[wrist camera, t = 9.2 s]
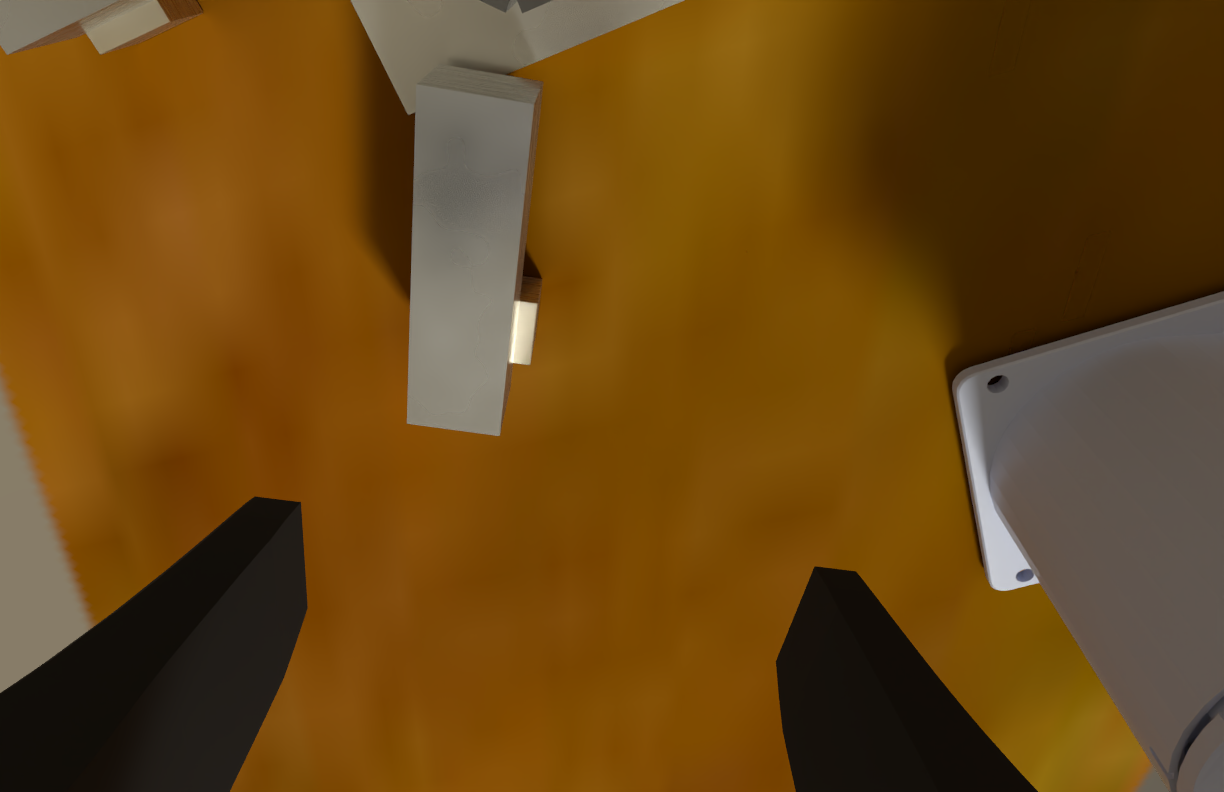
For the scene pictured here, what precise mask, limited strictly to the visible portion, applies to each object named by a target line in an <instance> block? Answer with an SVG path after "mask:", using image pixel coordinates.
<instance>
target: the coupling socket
mask: <svg viewBox="0 0 1224 792" xmlns="http://www.w3.org/2000/svg"><path fill="white" fill-rule="evenodd" d="M681 1H684V0H351V2H352V4H353V6H354V8H355V10H356V12H357V14H358V16H359V18H360V20H361V22H362V24H363V26H364V28H365V30H366V32H367V34H368V36H369V38H370V40H371V42H372V44H373V46H374V48H375V50H376V52H377V54H378V56H379V58H380V60H381V62H382V64H383V66H384V68H385V70H386V72H387V74H388V76H389V78H390V80H391V82H392V84H393V86H394V88H395V90H396V92H397V94H398V96H399V98H400V100H401V102H402V104H403V106H404V108H405V110H406V112H407V114H408V115H410V114H412V113H414V112H415V146H414V183H413V220H412V257H411V294H410V330H409V367H408V404H407V424H414V425H422V426H429V427H437V428H444V429H452V430H459V431H467V432H474V433H482V434H489V435H496V436H500V432H501V428H502V423H503V419H504V414H505V409H506V405H507V400H508V396H509V391H510V386H511V377H512V367H513V363H519V364H526V365H530V362H531V357H532V352H533V346H534V341H535V335H536V327H537V319H538V311H539V302H540V294H541V286H542V278H535V277H528V276H522V275H523V266H524V256H525V247H526V238H527V229H528V219H529V210H530V201H531V192H532V182H533V173H534V164H535V155H536V145H537V136H538V127H539V118H540V109H541V99H542V90H543V82H542V81H537V80H531V79H525V78H519V77H513V76H507V75H506V74H508V73H511V72H513V71H515V70H518V69H520V68H523V67H525V66H527V65H530V64H532V63H535V62H537V61H539V60H542V59H544V58H547V57H549V56H551V55H554V54H556V53H559V52H561V51H563V50H566V49H568V48H571V47H573V46H575V45H578V44H580V43H583V42H585V41H588V40H590V39H592V38H595V37H597V36H600V35H602V34H604V33H607V32H609V31H612V30H614V29H616V28H619V27H621V26H624V25H626V24H628V23H631V22H633V21H636V20H638V19H640V18H643V17H645V16H648V15H650V14H652V13H655V12H657V11H660V10H662V9H664V8H667V7H669V6H672V5H674V4H676V3H679V2H681ZM202 13H203V11H202V9H201V7H200V6H199V4H198V2H197V1H196V0H0V45H1V47H2V48H3V49H4V51H5V52H6V54H7V55H8V54H12V53H16V52H20V51H24V50H28V49H32V48H36V47H40V46H44V45H48V44H52V43H56V42H60V41H64V40H68V39H72V38H76V37H79V36H81V35H83V34H85V33H86V34H87V35H88V37H89V38H90V40H91V41H92V43H93V44H94V46H95V47H96V49H97V50H98V52H99V53H100V55H101V54H104V53H108V52H111V51H114V50H118V49H121V48H125V47H128V46H131V45H135V44H138V43H140V42H143V41H145V40H147V39H149V38H151V37H153V36H155V35H157V34H160V33H162V32H164V31H166V30H168V29H170V28H172V27H174V26H177V25H179V24H181V23H183V22H185V21H187V20H189V19H191V18H193V17H196V16H198V15H200V14H202Z"/></svg>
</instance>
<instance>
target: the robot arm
mask: <svg viewBox="0 0 1224 792" xmlns="http://www.w3.org/2000/svg"><path fill="white" fill-rule="evenodd" d="M998 375H1002V378H1001V379H1000V380H999V381H998V382H997V383H995V384H993V385H987V384H988V382H989V381H990V379H991V378H993V377H995V376H998ZM952 391H953V397H954V402H955V408H956V414H957V419H958V425H959V430H960V436H961V442H962V447H963V453H964V458H965V464H966V470H967V475H968V481H969V486H970V492H971V497H972V503H973V509H974V514H975V520H976V525H977V531H978V537H979V542H980V548H981V553H982V559H983V565H984V570H985V576H986V578H987V579H988V581H989V583H990V585H991V587H993V588H994V589H996V590H1001V591H1005V590H1011V589H1016V588H1020V587H1024V586H1028V585H1032V584H1036V583H1040V584H1041V586H1042V587H1043V589H1044V590H1045V592H1046V594H1047V595H1048V597H1049V599H1050V600H1051V602H1052V603H1053V605H1054V607H1055V608H1056V610H1057V611H1058V613H1059V615H1060V616H1061V618H1062V619H1063V621H1064V623H1065V624H1066V626H1067V628H1068V629H1069V631H1070V632H1071V634H1072V636H1073V637H1074V639H1075V640H1076V642H1077V644H1078V645H1079V647H1080V648H1081V650H1082V652H1083V653H1084V655H1085V657H1086V658H1087V660H1088V661H1089V663H1090V665H1091V666H1092V668H1093V669H1094V671H1095V673H1096V674H1097V676H1098V678H1099V679H1100V681H1101V682H1102V684H1103V686H1104V687H1105V689H1106V690H1107V692H1108V694H1109V695H1110V697H1111V698H1112V700H1113V702H1114V703H1115V705H1116V707H1117V708H1118V710H1119V711H1120V713H1121V715H1122V716H1123V718H1124V719H1125V721H1126V723H1127V724H1128V726H1129V727H1130V729H1131V731H1132V732H1133V734H1134V736H1135V737H1136V739H1137V740H1138V742H1139V744H1140V745H1141V747H1142V748H1143V750H1144V752H1145V753H1146V755H1147V757H1148V758H1149V760H1150V761H1151V763H1152V765H1153V766H1154V768H1155V769H1156V771H1157V773H1158V774H1159V776H1160V777H1161V779H1162V781H1163V782H1164V784H1165V785H1166V787H1167V789H1168V790H1169V792H1224V291H1223V292H1219V293H1216V294H1213V295H1209V296H1206V297H1203V298H1199V299H1196V300H1193V301H1189V302H1186V303H1183V304H1179V305H1176V306H1172V307H1169V308H1166V309H1162V310H1159V311H1156V312H1152V313H1149V314H1146V315H1142V316H1139V317H1136V318H1132V319H1129V320H1126V321H1122V322H1119V323H1116V324H1112V325H1109V326H1106V327H1102V328H1099V329H1096V330H1092V331H1089V332H1086V333H1082V334H1079V335H1076V336H1072V337H1069V338H1065V339H1062V340H1059V341H1055V342H1052V343H1049V344H1045V345H1042V346H1039V347H1035V348H1032V349H1029V350H1025V351H1022V352H1019V353H1015V354H1012V355H1009V356H1005V357H1002V358H999V359H995V360H992V361H989V362H985V363H982V364H979V365H975V366H972V367H969V368H967V369H965V370H962V371H961V372H960V373H959V374H958V375H957V376H956V377H955V379H954V381H953V384H952ZM1023 569H1025V570H1023ZM1021 570H1023V571H1021ZM1019 571H1021V572H1019ZM306 611H307V593H306V577H305V561H304V545H303V530H302V514H301V502H294V501H286V500H278V499H270V498H262V497H254V498H252V499H251V500H249V501H248V502H247V503H245V504H244V505H243V506H242V507H241V508H239V509H238V510H237V511H236V512H235V513H234V514H232V515H231V516H230V517H229V518H228V519H227V520H225V521H224V522H223V523H222V524H221V525H220V526H218V527H217V528H216V529H215V530H214V531H212V532H211V533H210V534H209V535H208V536H207V537H205V538H204V539H203V540H202V541H201V542H200V543H198V544H197V545H196V546H195V547H194V548H192V549H191V550H190V551H189V552H188V553H186V554H185V555H184V556H183V557H182V558H180V559H179V560H178V561H177V562H176V563H174V564H173V565H172V566H171V567H170V568H168V569H167V570H166V571H165V572H163V573H162V574H161V575H160V576H158V577H157V578H156V579H155V580H153V581H152V582H151V583H150V584H148V585H147V586H146V587H145V588H143V589H142V590H141V591H140V592H138V593H137V594H136V595H135V596H133V597H132V598H131V599H130V600H128V601H127V602H126V603H125V604H123V605H122V606H121V607H120V608H118V609H117V610H116V611H114V612H113V613H112V614H111V615H109V616H108V617H107V618H105V619H104V620H102V621H101V622H100V623H98V624H97V625H96V626H94V627H93V628H92V629H90V630H89V631H88V632H86V633H85V634H83V635H82V636H81V637H79V638H78V639H77V640H75V641H74V642H73V643H71V644H70V645H69V646H67V647H66V648H64V649H63V650H62V651H60V652H59V653H58V654H56V655H55V656H54V657H52V658H51V659H49V660H48V661H47V662H45V663H44V664H42V665H41V666H40V667H38V668H37V669H35V670H34V671H32V672H31V673H30V674H28V675H26V676H25V677H23V678H22V679H20V680H19V681H18V682H16V683H15V684H13V685H12V686H10V687H9V688H7V689H6V690H4V691H3V692H1V693H0V792H230V790H231V788H232V786H233V783H234V781H235V779H236V777H237V775H238V773H239V771H240V769H241V767H242V765H243V763H244V761H245V759H246V756H247V754H248V752H249V750H250V748H251V746H252V744H253V742H254V740H255V738H256V736H257V734H258V731H259V729H260V727H261V725H262V723H263V721H264V719H265V717H266V715H267V712H268V710H269V708H270V706H271V704H272V702H273V700H274V698H275V696H276V693H277V691H278V689H279V687H280V685H281V683H282V680H283V678H284V676H285V673H286V670H287V667H288V664H289V661H290V659H291V656H292V653H293V650H294V647H295V644H296V641H297V638H298V635H299V632H300V629H301V626H302V623H303V620H304V617H305V614H306ZM776 667H777V678H778V690H779V701H780V710H781V719H782V728H783V734H784V739H785V744H786V748H787V753H788V758H789V762H790V767H791V771H792V776H793V780H794V785H795V789H796V792H1038V791H1037V790H1036V789H1035V788H1034V787H1033V786H1032V785H1031V784H1030V783H1029V782H1028V781H1027V779H1026V778H1025V777H1024V776H1023V775H1022V774H1021V773H1020V772H1019V771H1018V770H1017V769H1016V767H1015V766H1014V765H1013V764H1012V763H1011V762H1010V761H1009V760H1008V758H1007V757H1006V756H1005V755H1004V754H1003V753H1002V752H1001V751H1000V749H999V748H998V747H997V746H996V745H995V744H994V743H993V742H992V741H991V739H990V738H989V737H988V736H987V735H986V734H985V733H984V732H983V730H982V729H981V728H980V727H979V726H978V725H977V723H976V722H975V721H974V720H973V719H972V717H971V716H970V715H969V714H968V713H967V712H966V710H965V709H964V708H963V707H962V706H961V704H960V703H959V702H958V701H957V700H956V698H955V697H954V696H953V695H952V694H951V692H950V691H949V690H948V689H947V687H946V686H945V685H944V684H943V682H942V681H941V680H940V679H939V677H938V676H937V675H936V674H935V673H934V671H933V670H932V669H931V667H930V666H929V665H928V664H927V662H926V661H925V660H924V659H923V657H922V656H921V655H920V654H919V652H918V651H917V650H916V648H915V647H914V646H913V645H912V643H911V642H910V641H909V639H908V638H907V637H906V635H905V634H904V633H903V632H902V630H901V629H900V628H899V626H898V625H897V624H896V623H895V621H894V620H893V619H892V617H891V616H890V615H889V613H888V612H887V611H886V609H885V608H884V607H883V606H882V604H881V603H880V602H879V600H878V599H877V598H876V596H875V595H874V594H873V592H872V591H871V590H870V589H869V587H868V586H867V585H866V583H865V582H864V581H863V580H862V578H861V577H860V576H859V575H858V573H857V572H855V571H847V570H839V569H831V568H823V567H814V569H813V572H812V574H811V577H810V579H809V582H808V584H807V587H806V589H805V592H804V594H803V596H802V599H801V601H800V604H799V606H798V609H797V611H796V614H795V616H794V619H793V621H792V623H791V626H790V628H789V631H788V633H787V636H786V638H785V641H784V643H783V646H782V648H781V650H780V653H779V655H778V658H777V660H776Z"/></svg>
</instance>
